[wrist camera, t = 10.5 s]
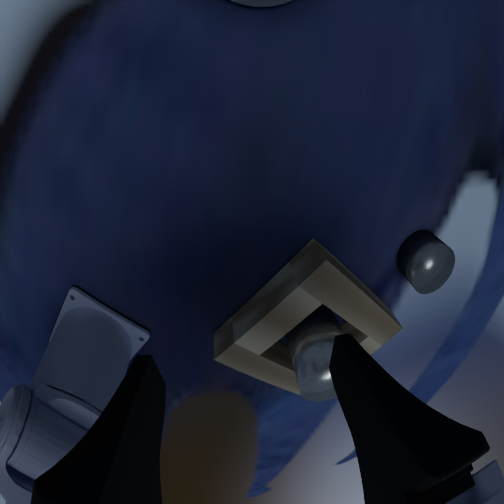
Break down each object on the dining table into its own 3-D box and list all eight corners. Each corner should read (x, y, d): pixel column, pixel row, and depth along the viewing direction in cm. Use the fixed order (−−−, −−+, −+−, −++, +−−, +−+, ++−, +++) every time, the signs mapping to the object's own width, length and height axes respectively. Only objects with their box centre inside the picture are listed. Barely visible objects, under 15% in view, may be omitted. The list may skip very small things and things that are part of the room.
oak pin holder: (302, 375, 28) (308, 397, 26) (213, 332, 24) (213, 359, 21) (388, 307, 25) (402, 328, 22) (313, 237, 20) (326, 259, 17)
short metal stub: (409, 282, 24) (425, 302, 21) (387, 256, 22) (405, 276, 19) (441, 249, 22) (460, 265, 20) (423, 219, 20) (444, 235, 18)
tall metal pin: (306, 344, 26) (325, 405, 20) (272, 325, 24) (286, 393, 18) (342, 314, 24) (371, 374, 18) (310, 291, 23) (337, 357, 16)
